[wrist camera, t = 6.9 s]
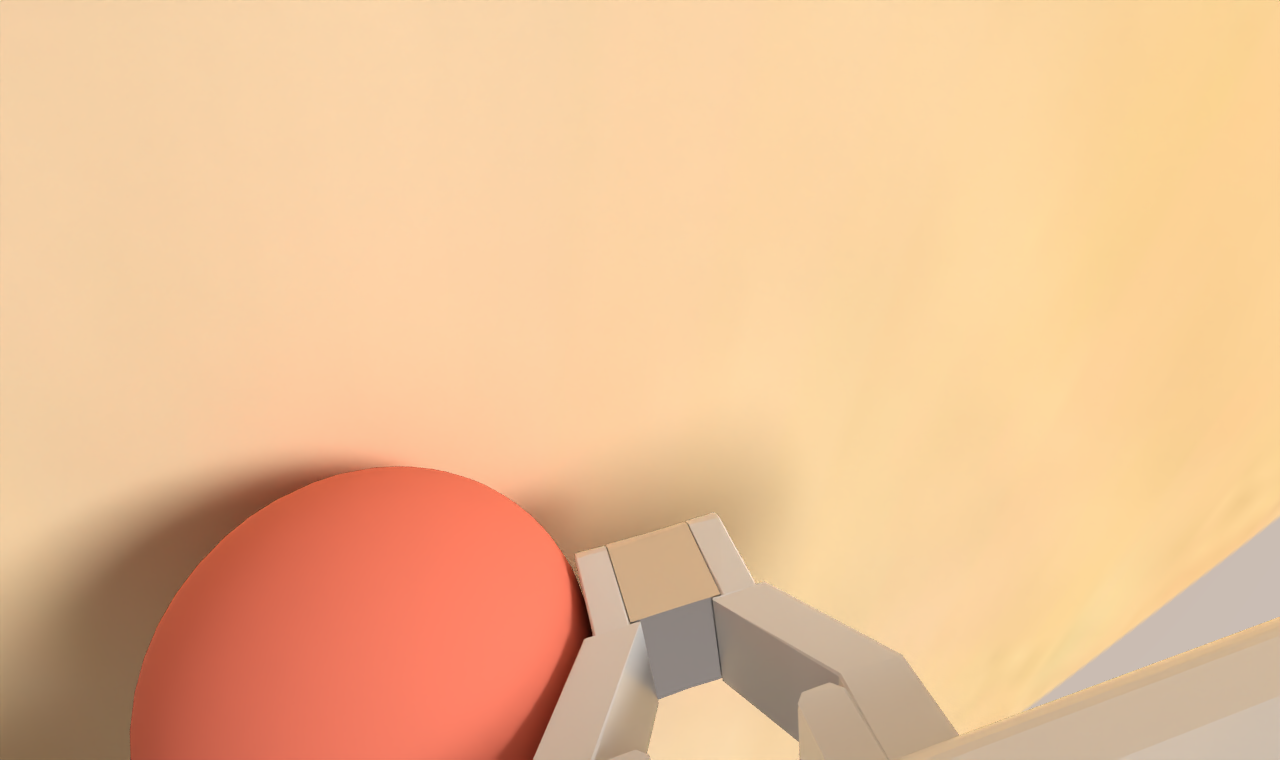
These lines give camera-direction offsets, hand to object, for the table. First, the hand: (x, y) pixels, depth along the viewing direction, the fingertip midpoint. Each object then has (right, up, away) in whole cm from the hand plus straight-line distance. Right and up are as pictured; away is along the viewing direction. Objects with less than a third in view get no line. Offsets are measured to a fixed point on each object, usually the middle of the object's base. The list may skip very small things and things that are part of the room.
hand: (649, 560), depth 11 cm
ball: (-4, -1, -1) cm, 4 cm away
